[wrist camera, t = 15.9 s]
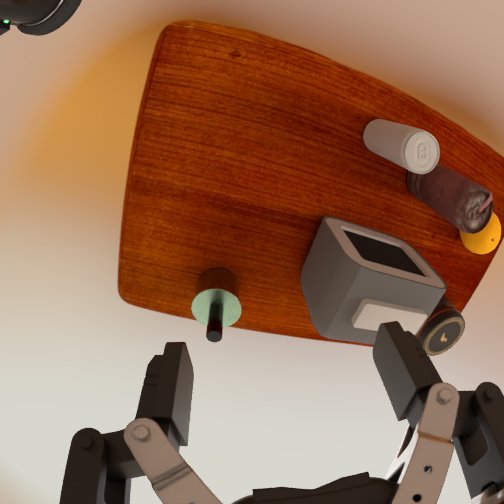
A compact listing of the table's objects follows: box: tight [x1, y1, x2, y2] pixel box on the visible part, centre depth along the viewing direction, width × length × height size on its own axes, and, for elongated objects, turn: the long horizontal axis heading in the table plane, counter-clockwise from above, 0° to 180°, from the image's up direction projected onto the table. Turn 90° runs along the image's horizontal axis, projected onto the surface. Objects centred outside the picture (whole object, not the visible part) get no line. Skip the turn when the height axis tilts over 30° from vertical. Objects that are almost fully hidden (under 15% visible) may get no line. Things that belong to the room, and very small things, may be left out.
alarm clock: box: [300, 216, 447, 344], centre depth 39 cm, size 16×11×16 cm
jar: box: [416, 296, 465, 356], centre depth 49 cm, size 10×10×8 cm
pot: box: [196, 269, 239, 298], centre depth 45 cm, size 6×6×5 cm
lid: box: [191, 287, 242, 342], centre depth 40 cm, size 7×7×7 cm
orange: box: [460, 212, 501, 254], centre depth 40 cm, size 8×8×8 cm
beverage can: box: [363, 119, 440, 174], centre depth 32 cm, size 5×5×12 cm
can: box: [407, 164, 493, 234], centre depth 34 cm, size 6×6×14 cm
